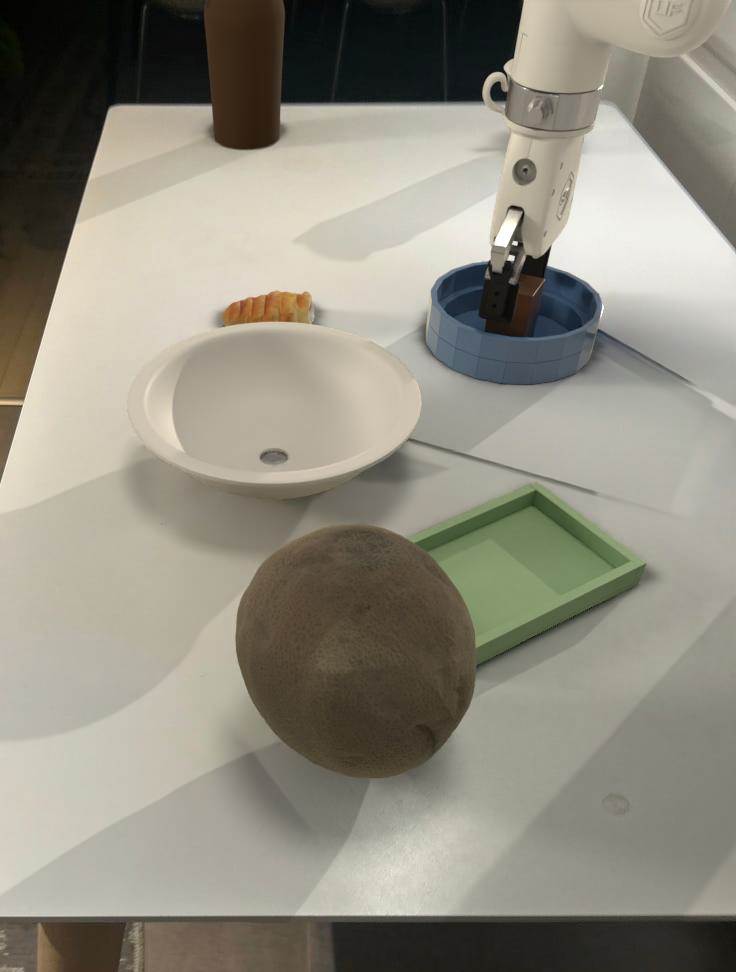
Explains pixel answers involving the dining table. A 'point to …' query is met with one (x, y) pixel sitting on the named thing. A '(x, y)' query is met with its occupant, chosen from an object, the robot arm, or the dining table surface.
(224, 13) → the olive oil
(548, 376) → the blue bowl
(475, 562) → the tray
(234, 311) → the pastry
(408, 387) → the vessel sink basin
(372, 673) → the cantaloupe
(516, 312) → the block
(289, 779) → the dining table surface
